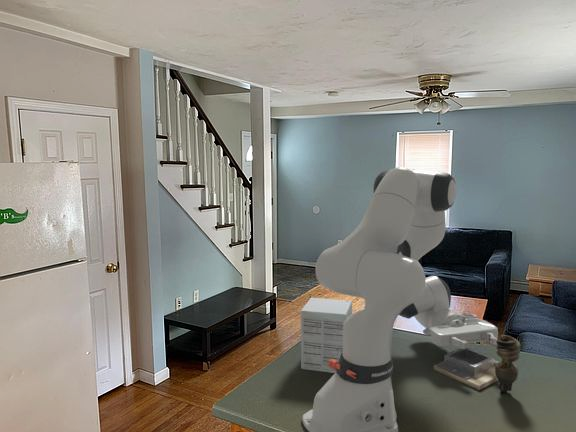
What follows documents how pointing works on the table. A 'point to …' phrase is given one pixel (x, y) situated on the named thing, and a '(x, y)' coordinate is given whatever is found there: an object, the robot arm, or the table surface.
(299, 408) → the table surface
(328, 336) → the supplement box
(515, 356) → the light bulb
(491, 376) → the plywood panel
